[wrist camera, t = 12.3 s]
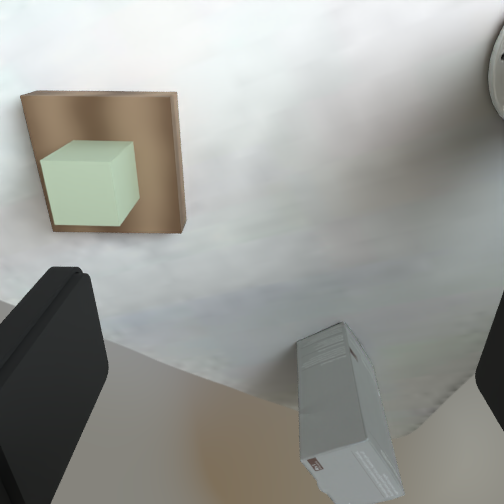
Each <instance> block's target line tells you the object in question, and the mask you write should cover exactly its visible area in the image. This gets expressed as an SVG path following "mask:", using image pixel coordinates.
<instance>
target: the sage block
mask: <svg viewBox="0 0 504 504" xmlns="http://www.w3.org/2000/svg"><path fill="white" fill-rule="evenodd" d="M40 163H41V167H42V172H43V176H44V180H45V185H46V189H47V193H48V198H49V202H50V207H51V211H52V215H53V220H54V224H55V225H87V226H120V225H121V224H122V222H123V221H124V219H125V218H126V217H127V215H128V214H129V212H130V211H131V210H132V208H133V207H134V205H135V204H136V202H137V201H138V200H139V198H140V196H139V187H138V179H137V170H136V162H135V153H134V145H133V141H88V140H73V141H71V142H70V143H68V144H66V145H65V146H63V147H61V148H60V149H58V150H56V151H55V152H53V153H51V154H50V155H48V156H47V157H45V158H43V159H42V160H40Z"/></svg>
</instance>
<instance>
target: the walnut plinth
mask: <svg viewBox="0 0 504 504" xmlns="http://www.w3.org/2000/svg"><path fill="white" fill-rule="evenodd" d="M20 98H21V102H22V106H23V110H24V114H25V118H26V122H27V126H28V131H29V135H30V139H31V143H32V147H33V151H34V155H35V159H36V163H37V168H38V172H39V176H40V180H41V184H42V188H43V192H44V196H45V200H46V205H47V209H48V213H49V217H50V221H51V225H52V229H53V232H110V233H180V234H181V233H182V231H183V228H184V225H185V223H186V208H185V194H184V181H183V167H182V154H181V140H180V127H179V113H178V100H177V92H131V91H35V92H31V93H28V94H24V95H21V96H20ZM73 140H88V141H133V145H134V153H135V162H136V170H137V179H138V187H139V196H140V198H139V200H138V201H137V202H136V204H135V205H134V207H133V208H132V210H131V211H130V212H129V214H128V215H127V217H126V218H125V219H124V221H123V222H122V224H121V225H120V226H87V225H55V224H54V220H53V215H52V211H51V207H50V202H49V198H48V193H47V189H46V185H45V180H44V176H43V172H42V167H41V163H40V160H42V159H43V158H45V157H47V156H48V155H50V154H51V153H53V152H55V151H56V150H58V149H60V148H61V147H63V146H65V145H66V144H68V143H70V142H71V141H73Z"/></svg>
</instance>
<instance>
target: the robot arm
mask: <svg viewBox="0 0 504 504" xmlns="http://www.w3.org/2000/svg"><path fill="white" fill-rule="evenodd" d="M502 54H504V26H503V28H502V30H501V32H500V34H499V36H498V38H497V40H496V42H495V45H494V48H493V52H492V55H491V58H490V64H489V72H488V82H489V92H490V96H491V99H492V103H493V105H494V107H495V108H496V110H497V112H498V114H499V115H500V116H501V117H502V118H503V120H504V56H503V58H502V59H501V56H502ZM107 374H108V360H107V355H106V350H105V345H104V340H103V336H102V331H101V326H100V321H99V317H98V312H97V307H96V302H95V298H94V293H93V288H92V283H91V279H90V276H89V275H88V274H87V273H83V272H82V270H81V269H80V268H79V267H51V268H50V269H48V271H47V272H46V273H45V274H44V275H43V276H42V277H41V279H40V280H39V281H38V282H37V283H36V284H35V285H34V286H33V288H32V289H31V290H30V291H29V292H28V293H27V294H26V295H25V297H24V298H23V299H22V300H21V301H20V302H19V303H18V305H17V306H16V307H15V308H14V309H13V310H12V311H11V312H10V314H9V315H8V316H7V317H6V318H5V319H4V320H3V322H2V323H1V324H0V504H51V501H52V499H53V497H54V495H55V492H56V490H57V488H58V486H59V483H60V481H61V479H62V477H63V475H64V472H65V470H66V468H67V465H68V463H69V461H70V459H71V457H72V454H73V452H74V450H75V448H76V445H77V443H78V441H79V439H80V437H81V434H82V432H83V430H84V427H85V425H86V423H87V421H88V419H89V416H90V414H91V412H92V410H93V407H94V405H95V403H96V401H97V399H98V396H99V394H100V392H101V390H102V387H103V385H104V383H105V381H106V378H107ZM475 379H476V384H477V386H478V389H479V390H480V392H481V394H482V395H483V397H484V399H485V400H486V402H487V404H488V405H489V407H490V409H491V410H492V412H493V414H494V416H495V417H496V419H497V421H498V423H499V424H500V426H501V427H502V429H503V431H504V292H503V295H502V298H501V301H500V304H499V306H498V309H497V312H496V315H495V318H494V321H493V323H492V326H491V329H490V332H489V335H488V338H487V341H486V343H485V346H484V349H483V352H482V355H481V358H480V361H479V363H478V366H477V369H476V373H475Z"/></svg>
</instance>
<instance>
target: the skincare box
mask: <svg viewBox="0 0 504 504" xmlns="http://www.w3.org/2000/svg"><path fill="white" fill-rule="evenodd" d="M296 344H297V370H298V401H299V442H300V461H301V462H302V464H303V465H304V466H305V467H306V469H307V470H308V471H309V472H310V473H311V474H312V476H313V477H314V478H315V479H316V480H317V485H318V488H319V489H320V490H321V491H322V492H324V493H326V494H327V495H328V496H329V497H330V499H331V500H332V501H333V502H334V503H335V504H374V503H379V502H383V501H387V500H391V499H395V498H398V497H400V496H403V495H405V492H404V489H403V486H402V481H401V477H400V473H399V469H398V465H397V461H396V457H395V453H394V449H393V445H392V441H391V437H390V433H389V429H388V425H387V421H386V416H385V412H384V408H383V404H382V400H381V396H380V392H379V388H378V383H377V379H376V375H375V371H374V367H373V366H372V364H371V362H370V360H369V358H368V357H367V355H366V353H365V352H364V350H363V348H362V347H361V345H360V344H359V342H358V341H357V339H356V337H355V336H354V335H353V333H352V332H351V330H350V329H349V327H348V326H347V325H346V324H345V323H344V322H342V323H340V324H337V325H335V326H333V327H331V328H328V329H326V330H324V331H321V332H319V333H316V334H314V335H312V336H309V337H307V338H305V339H303V340H300V341H298V342H297V343H296Z"/></svg>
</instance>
